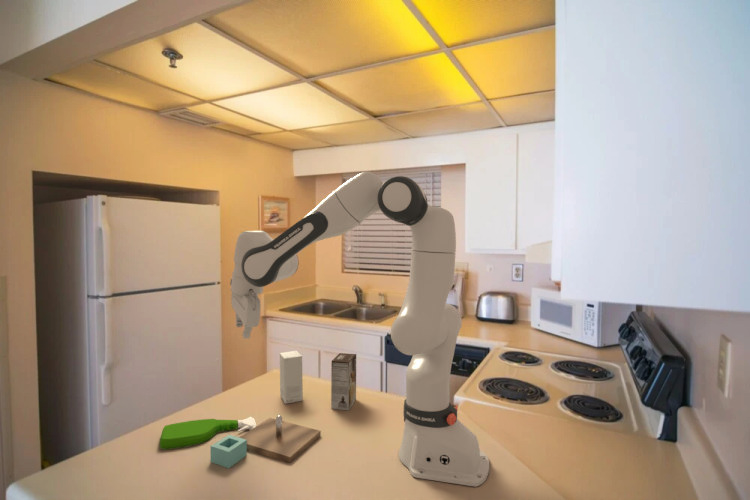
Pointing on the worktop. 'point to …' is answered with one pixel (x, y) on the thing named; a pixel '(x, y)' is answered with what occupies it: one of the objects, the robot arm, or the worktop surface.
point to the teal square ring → (228, 451)
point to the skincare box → (291, 377)
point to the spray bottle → (199, 431)
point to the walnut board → (280, 439)
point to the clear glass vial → (279, 426)
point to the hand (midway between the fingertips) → (242, 331)
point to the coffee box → (343, 381)
